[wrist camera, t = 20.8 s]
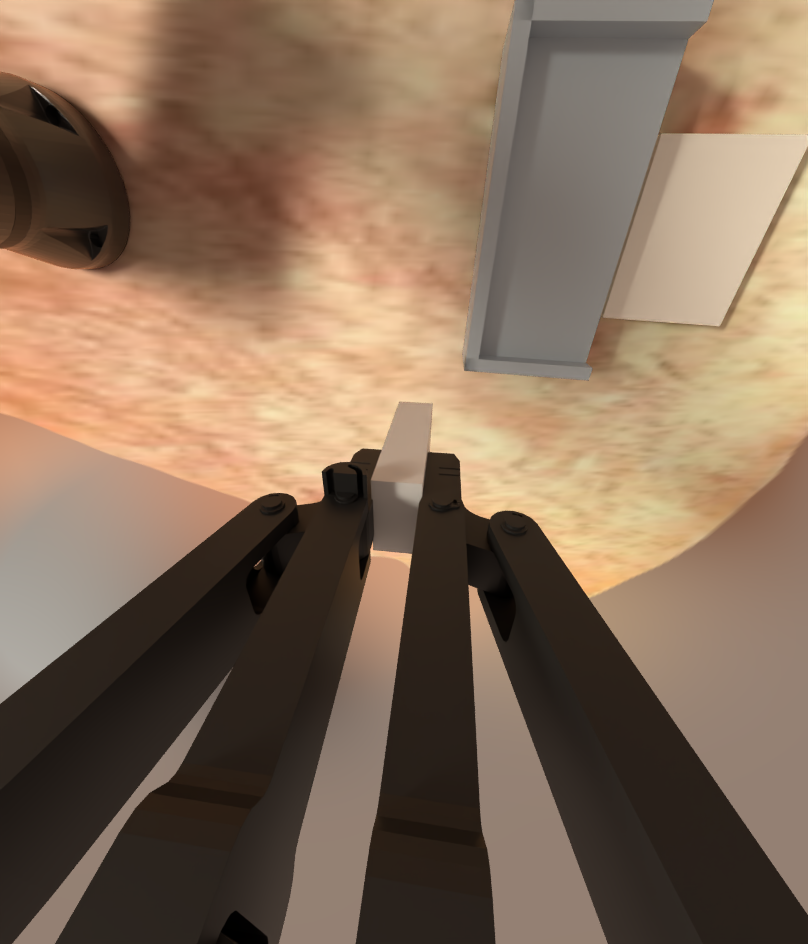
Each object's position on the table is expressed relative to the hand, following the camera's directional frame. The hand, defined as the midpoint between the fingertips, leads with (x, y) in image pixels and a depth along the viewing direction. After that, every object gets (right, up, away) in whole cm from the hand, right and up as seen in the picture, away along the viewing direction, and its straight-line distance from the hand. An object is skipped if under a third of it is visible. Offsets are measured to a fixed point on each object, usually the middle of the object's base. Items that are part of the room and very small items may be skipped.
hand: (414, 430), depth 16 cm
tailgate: (+20, +21, +17) cm, 34 cm away
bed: (+13, +21, +18) cm, 31 cm away
